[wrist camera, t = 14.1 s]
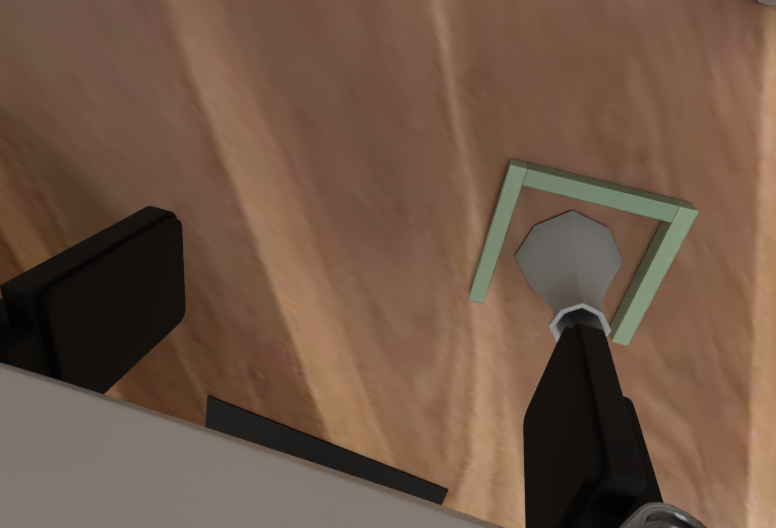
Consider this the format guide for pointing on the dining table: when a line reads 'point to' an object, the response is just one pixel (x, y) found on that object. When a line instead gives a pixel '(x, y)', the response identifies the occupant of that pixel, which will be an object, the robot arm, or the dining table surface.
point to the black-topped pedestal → (313, 450)
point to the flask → (570, 269)
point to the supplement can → (768, 2)
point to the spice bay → (667, 209)
